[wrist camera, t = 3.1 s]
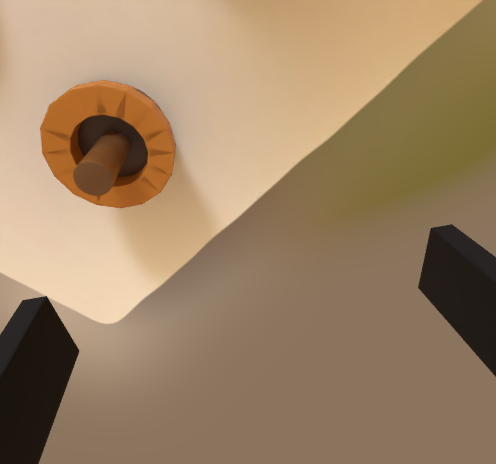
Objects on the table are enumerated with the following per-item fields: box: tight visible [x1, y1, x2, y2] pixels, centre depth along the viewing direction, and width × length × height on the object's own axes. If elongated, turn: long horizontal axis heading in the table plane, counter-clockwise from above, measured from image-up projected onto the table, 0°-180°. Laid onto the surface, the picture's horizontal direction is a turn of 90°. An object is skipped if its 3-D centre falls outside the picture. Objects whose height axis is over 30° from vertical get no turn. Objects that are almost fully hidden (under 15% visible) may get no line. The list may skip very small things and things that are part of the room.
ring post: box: [73, 88, 162, 196], centre depth 26 cm, size 8×8×11 cm
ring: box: [40, 80, 176, 208], centre depth 26 cm, size 10×10×2 cm
